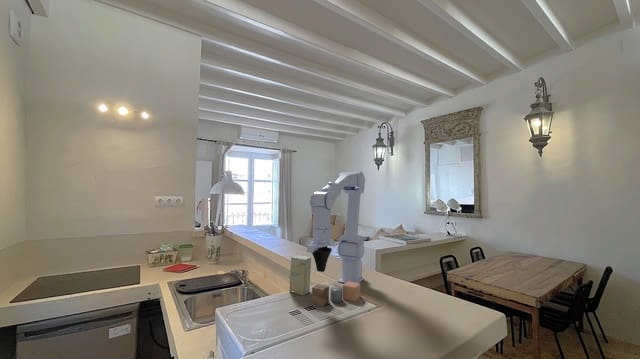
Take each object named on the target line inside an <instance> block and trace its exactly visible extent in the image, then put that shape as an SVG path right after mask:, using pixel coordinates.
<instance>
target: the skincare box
mask: <svg viewBox="0 0 640 359" xmlns="http://www.w3.org/2000/svg"><path fill="white" fill-rule="evenodd" d="M311 271H312V256H306V255H299V254H296V255H293V256H290V272H289V273H290V274H289V278H290V279H289V289H288V290H289V293H293V292H292V291H294V294H297V295H300V296H305V295H306V294H308V293H310V290H311Z"/></svg>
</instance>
